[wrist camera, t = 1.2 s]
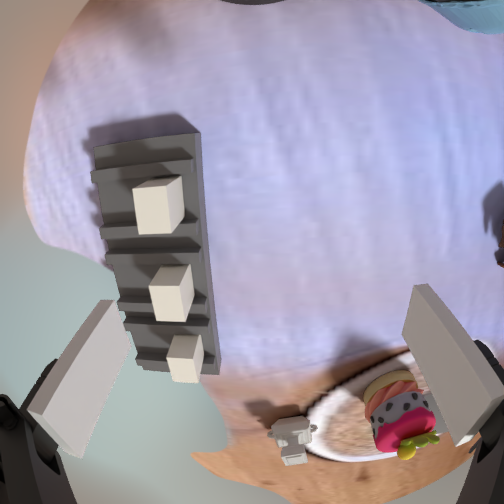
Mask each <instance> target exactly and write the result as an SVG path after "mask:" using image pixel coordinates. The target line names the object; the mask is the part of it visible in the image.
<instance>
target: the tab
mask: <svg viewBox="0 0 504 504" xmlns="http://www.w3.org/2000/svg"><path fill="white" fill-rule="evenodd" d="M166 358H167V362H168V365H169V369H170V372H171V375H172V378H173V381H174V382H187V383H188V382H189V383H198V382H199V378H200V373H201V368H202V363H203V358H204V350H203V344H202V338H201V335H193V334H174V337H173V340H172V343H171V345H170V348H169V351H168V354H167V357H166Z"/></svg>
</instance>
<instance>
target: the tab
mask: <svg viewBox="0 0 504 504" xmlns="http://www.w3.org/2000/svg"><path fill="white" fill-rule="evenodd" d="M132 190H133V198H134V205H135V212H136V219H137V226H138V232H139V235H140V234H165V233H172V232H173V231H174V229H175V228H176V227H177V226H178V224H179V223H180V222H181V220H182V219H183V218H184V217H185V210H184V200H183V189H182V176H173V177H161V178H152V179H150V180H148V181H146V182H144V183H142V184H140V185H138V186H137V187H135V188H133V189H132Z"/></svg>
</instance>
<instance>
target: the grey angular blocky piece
mask: <svg viewBox="0 0 504 504" xmlns="http://www.w3.org/2000/svg"><path fill="white" fill-rule="evenodd" d="M271 428H272V431H270V432H268V433H267V436H268V437H269V438H273V439H275V440H276V443H277V446H278V447H282V451H281V458H282V460H283V461H284V463H285V465H286V466H288V465H295V464H302V463H308V460H307V455H306V452H305V449H304V445H303V444H307V443H311V441H312V434H311V433H313V432H315V431H316V430H317V429H318V428H317V426H316V425H310V420H308V419H307V418H305V417H303V416H297V417H290V418H283V419H278V420H277V421H276V422H275V423H274V424H273V425H272V426H271ZM311 428H313V429H311ZM271 434H273V435H271Z"/></svg>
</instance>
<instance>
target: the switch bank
mask: <svg viewBox="0 0 504 504" xmlns="http://www.w3.org/2000/svg"><path fill="white" fill-rule="evenodd" d="M94 157H95V166H96V170H94V171H91V172H90V173H91V181H92V183H98V190H99V197H100V204H101V210H102V216H103V222H104V225H103V226H102V227H100V228H99V230H100V235H101V239H107V242H108V247H109V251H108V252H107V253H106V254H105V259H106V263H107V265H113V270H114V274H115V278H116V282H117V286H118V290H119V293H120V298H119V300H118V301H117V305H118V308H119V311H125V315H126V319H125V321H124V322H123V325H124V328H125V331H131V334H132V337H133V340H134V343H135V346H136V350H137V352H138V354H137V356H136V358H135V360H136V362H137V365H140V366H142V367H143V369H144V370H151V371H161V372H170V369H169V365H168V362H167V358H166V357H167V354H168V351H169V348H170V345H171V343H172V340H173V337H174V334H193V335H201V338H202V344H203V350H204V358H203V363H202V368H201V373H200V374H211V375H219V373H220V366H221V354H220V346H219V338H218V330H217V322H216V313H215V304H214V295H213V286H212V276H211V266H210V256H209V245H208V234H207V222H206V209H205V196H204V182H203V166H202V149H201V133H190V134H180V135H170V136H162V137H154V138H146V139H139V140H132V141H126V142H120V143H114V144H108V145H103V146H98V147H94ZM173 176H182V189H183V200H184V210H185V217H184V218H183V219H182V220H181V222H180V223H179V224H178V226H177V227H176V228H175V229H174V231H173V232H172V233H165V234H140V235H139V232H138V226H137V219H136V212H135V205H134V198H133V190H132V189H133V188H135V187H137V186H138V185H140V184H142V183H144V182H146V181H148V180H150V179H152V178H161V177H173ZM162 264H191V271H192V279H193V286H194V293H195V296H194V299H193V301H192V304H191V307H190V310H189V313H188V316H187V319H186V322H173V321H156V316H155V312H154V308H153V304H152V299H151V295H150V290H149V284H150V283H151V281H152V279H153V278H154V276H155V275H156V273H157V272H158V270H159V268H160V267H161V265H162Z"/></svg>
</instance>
